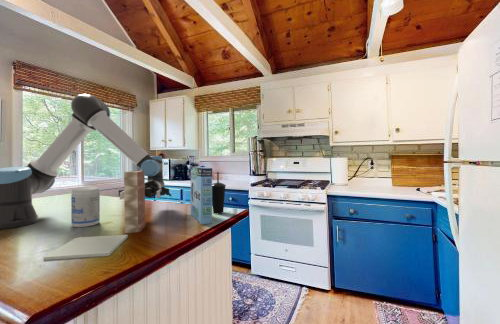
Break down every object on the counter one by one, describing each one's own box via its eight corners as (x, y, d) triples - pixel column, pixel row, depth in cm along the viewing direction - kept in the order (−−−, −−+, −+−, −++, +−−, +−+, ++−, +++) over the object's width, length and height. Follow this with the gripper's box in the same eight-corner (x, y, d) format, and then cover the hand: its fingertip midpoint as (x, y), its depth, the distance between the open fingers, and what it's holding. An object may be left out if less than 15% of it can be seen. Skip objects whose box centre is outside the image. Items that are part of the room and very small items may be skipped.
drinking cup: (207, 214, 116) (206, 172, 115) (215, 210, 123) (215, 171, 122) (221, 215, 113) (221, 172, 112) (228, 211, 120) (228, 171, 120)
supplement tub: (65, 227, 94) (64, 190, 94) (83, 221, 104) (82, 187, 103) (89, 227, 94) (88, 190, 94) (105, 221, 103) (104, 187, 103)
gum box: (190, 214, 114) (189, 166, 114) (201, 213, 117) (200, 166, 116) (200, 225, 97) (200, 168, 96) (213, 223, 99) (212, 167, 99)
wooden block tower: (124, 232, 87) (123, 172, 87) (131, 226, 95) (130, 170, 95) (139, 232, 88) (138, 171, 88) (145, 226, 96) (144, 170, 96)
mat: (43, 260, 64) (43, 257, 64) (76, 239, 80) (76, 237, 80) (108, 255, 67) (108, 252, 67) (127, 236, 83) (127, 234, 83)
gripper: (178, 195, 118) (172, 203, 97) (123, 197, 114) (105, 206, 93) (178, 180, 118) (172, 185, 97) (123, 181, 114) (104, 186, 93)
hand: (139, 195), depth 95 cm, fingers open, 13 cm apart
